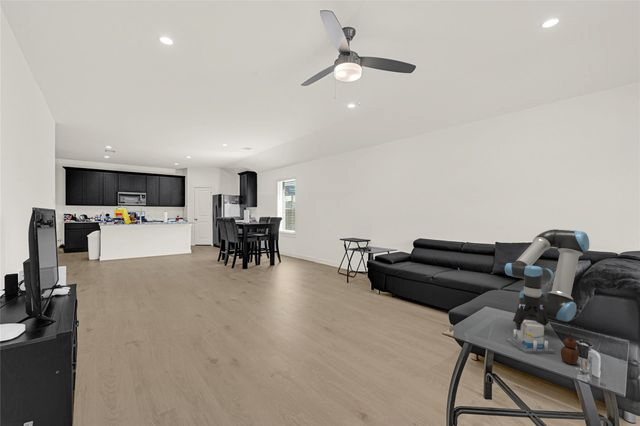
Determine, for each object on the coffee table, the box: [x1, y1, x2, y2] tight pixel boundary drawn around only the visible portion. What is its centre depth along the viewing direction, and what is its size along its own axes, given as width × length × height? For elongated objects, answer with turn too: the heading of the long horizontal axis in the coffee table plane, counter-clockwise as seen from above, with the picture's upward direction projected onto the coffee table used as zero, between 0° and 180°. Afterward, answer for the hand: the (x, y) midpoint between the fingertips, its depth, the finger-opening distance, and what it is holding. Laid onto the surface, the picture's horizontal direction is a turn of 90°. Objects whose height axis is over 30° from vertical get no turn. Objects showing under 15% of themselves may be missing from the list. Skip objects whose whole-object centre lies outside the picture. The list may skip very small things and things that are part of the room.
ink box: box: [517, 320, 545, 349], centre depth 151 cm, size 9×8×12 cm
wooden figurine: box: [560, 332, 580, 365], centre depth 136 cm, size 7×6×15 cm
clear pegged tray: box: [505, 328, 556, 354], centre depth 151 cm, size 16×15×6 cm
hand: (530, 336), depth 151 cm, fingers open, 11 cm apart
